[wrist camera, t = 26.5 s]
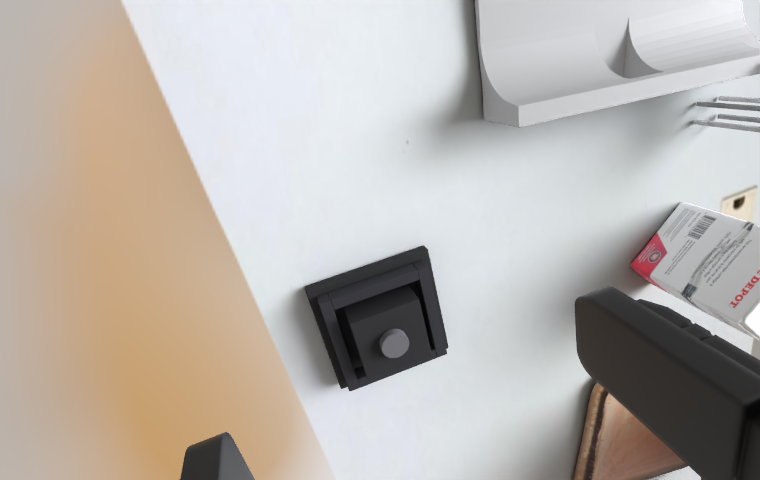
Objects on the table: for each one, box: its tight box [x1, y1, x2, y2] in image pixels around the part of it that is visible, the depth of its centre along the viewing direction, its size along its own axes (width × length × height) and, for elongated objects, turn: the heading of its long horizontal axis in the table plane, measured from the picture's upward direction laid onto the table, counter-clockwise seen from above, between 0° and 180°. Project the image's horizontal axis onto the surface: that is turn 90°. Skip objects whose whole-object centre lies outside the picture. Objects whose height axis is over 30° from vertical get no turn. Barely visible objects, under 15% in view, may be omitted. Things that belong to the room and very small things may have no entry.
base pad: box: [305, 246, 448, 391], centre depth 39 cm, size 11×11×2 cm
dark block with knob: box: [343, 284, 432, 380], centre depth 37 cm, size 6×6×4 cm
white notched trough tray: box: [475, 0, 760, 132], centre depth 32 cm, size 25×21×8 cm
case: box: [573, 382, 704, 480], centre depth 49 cm, size 20×21×16 cm
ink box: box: [630, 202, 760, 341], centre depth 41 cm, size 8×5×12 cm, turn 145°
